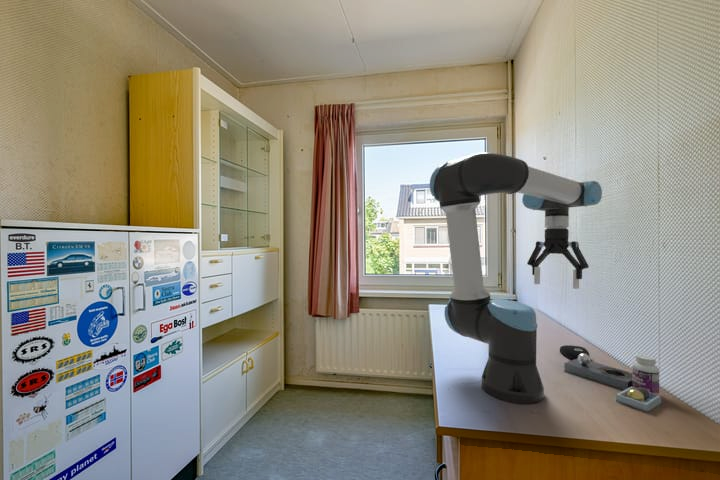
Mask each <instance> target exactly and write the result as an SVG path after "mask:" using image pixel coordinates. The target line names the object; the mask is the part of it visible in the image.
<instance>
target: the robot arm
mask: <svg viewBox="0 0 720 480" xmlns="http://www.w3.org/2000/svg"><path fill="white" fill-rule="evenodd" d="M429 191H430V194H431V196H432V197H434V200H436V201H437V202H439V208H440V210H442V211H443V212H444V213H445V218H446V226H447V234H448V235H447V236H448V243H449V254H450V261H451V270H452V279H453V287H454V289H453V291H452V292H451V293H450V294H449V296H450V298H449V300H448V301H447V302H446V305H445V307H444V320H445V322H446V324H447V326H448V328H449V329H450V330H452V331H453V332H454V333H455V334H458V335H460V336H462V337H463V338H464V337H465V338H469V339H472V340H474V341H475V340H476V341H478V342H482V343H484V344H487V345H488V357H487V362H486V363H485V367H484V369H483V372H482V375H481V388H482V389H483V390H484V391H485V392H486V393H487V394H489V395H490V396H493V397H495V398H497V399H500V400H503V401H506V402H511V403H516V404H536V403H539V402H541V401H543V400H544V397H545V392H544V391H545V388H544V385H543V381H542V378H541V375H540V372H539V369H538V366H537V334H538V333H537V330H538V323H537V313H536V311H535V310H534V308H532V307H531V306H529V305H528V304H525V303H522V302H519V301H514V300H509V299H504V298H494V299H491V292H490V291H488V290H487V288H485V285H484V277H483V269H482V268H483V267H482V266H483V265H482V260H481V247H480V241H479V238H480V237H479V229H478V222H477V213H476V212H477V210H476V209H477V208H478V206H479V205H480V204H481V197H482V196H487V195H493V194H494V195H495V194H507V195H514V194H522V199H521V200H522V201H521V202H522V204H523V206H524V208H527V209H528V210H532V211H541V212H542V211H543V212H544V227H545V229H544V242H543V241H536V242H535V247H534V249H533V251H532V253H531V255H530V257H529V259H528V260H527V265H529V266H531V268H532V271H531V272H532V273H531V274H532V276H534V277H533V279H534V280H533V284H534V285H540V284H541V266H539V265H541V263H542V262H544V260H545V259H546V258H547V257H548V256H549V255H550V254H554V255H555V254H557V255H558V254H559V255H563V256H564V257H565V258H566V260H568V262H569V263H570V264H571V265H572V266H573V267H574V268H575V269H573V270H572V273H573V274H572V289H576V290H577V289H580V280H582V278H583V270H585V269H589V267H590V266H589V264H588V262H587V260H586V258H585V257H584V255H583V253H582V251H581V249H580V246H579V245H580V244H579V242H578V241H574V240H573V241H570V242H569V235H570V234H569V229H568V228H569V226H570V225H569V223H570V222H569V221H570V220H569V219H570V216H569V215H570V214H569V212H570V211H569V209H570V208H579V207H585V208H586V207H589V206H595V205H598V204H599V203H600V202H601V200H602V198H603V197H602V196H603V190H602V187H601V184H600V183H599V182H598V181H595V180H591V181H590V180H589V181H588V180H586V181H583V182H579V181H576V180H573V179H569V178H566V177H563V176H560V175H557V174H555V173H551V172H547V171H545V170H541V169H538V168H534V167H532V166H529V165H528V164H527V162H526V161H524V160H523V159H519V158H517V157H514V156H509V155H505V154H499V153H495V152H494V153H493V152H477V153H473V154H471V155H467V156H463V157H461V158H457V159H453V160H449V161H446V162H445V163H443V164H441V165H439V166H437V167H436V168H435V169H434V170H433V172H432V174H431V176H430V179H429ZM569 247H570V248H571V250H572V251H573V254H574V256H575V257H576V258H575V257H574V256H573V254H572V253H571V251H570V250H568V248H569ZM542 248H544V250H542ZM541 251H542V253H541ZM540 253H541V254H540Z"/></svg>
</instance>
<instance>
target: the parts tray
mask: <svg viewBox="0 0 720 480" xmlns="http://www.w3.org/2000/svg"><path fill="white" fill-rule="evenodd" d="M630 389H636V388H635V387H630V388H628V389H626V390H622V391H619V392H618V393H617V394H616V402H617V403H620V404H622V405H626V406H628V407H631V408H634V409H636V410H639V411H642V412H645V413H648V412H650V411H651V410H653V409H655V408H656V407H658V406H659V405H660V404H662V395H660V394H659V395H657V394H654V393H651V392H649V398H648V399H644V401H643V402H640V401H637V400H634V399H631V398H628V396H627V392H628V391H629V390H630Z"/></svg>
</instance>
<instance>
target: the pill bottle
mask: <svg viewBox="0 0 720 480" xmlns="http://www.w3.org/2000/svg"><path fill="white" fill-rule="evenodd" d="M656 363H657V361H656V358H655V357H653V356H651V355H648V354H639V353H637V354H635V361H634V362H633V363H632V367H631V368H632V370H631V371H632V372H631V373H633V387H635V388H638V387H642V388H645V389H646V390H647V391H648V392H651V393H654V394H657V395H660V369H659V367H658V366H656Z"/></svg>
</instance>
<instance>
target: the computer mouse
mask: <svg viewBox="0 0 720 480" xmlns="http://www.w3.org/2000/svg"><path fill="white" fill-rule="evenodd" d="M559 353H560V354H561V355H562V356H563V357H565V358H566V359H567V360H568V361H572V360H575V359H577V358H578V356H579V354H581V353H585V354H587V355H588V356H589V357H590V358H591V356H590V352H589V350H588V349H586V347H583V346H580V345H579V346H578V345H574V344H569V345H567V344H565V345H561V346H560V348H559Z"/></svg>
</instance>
